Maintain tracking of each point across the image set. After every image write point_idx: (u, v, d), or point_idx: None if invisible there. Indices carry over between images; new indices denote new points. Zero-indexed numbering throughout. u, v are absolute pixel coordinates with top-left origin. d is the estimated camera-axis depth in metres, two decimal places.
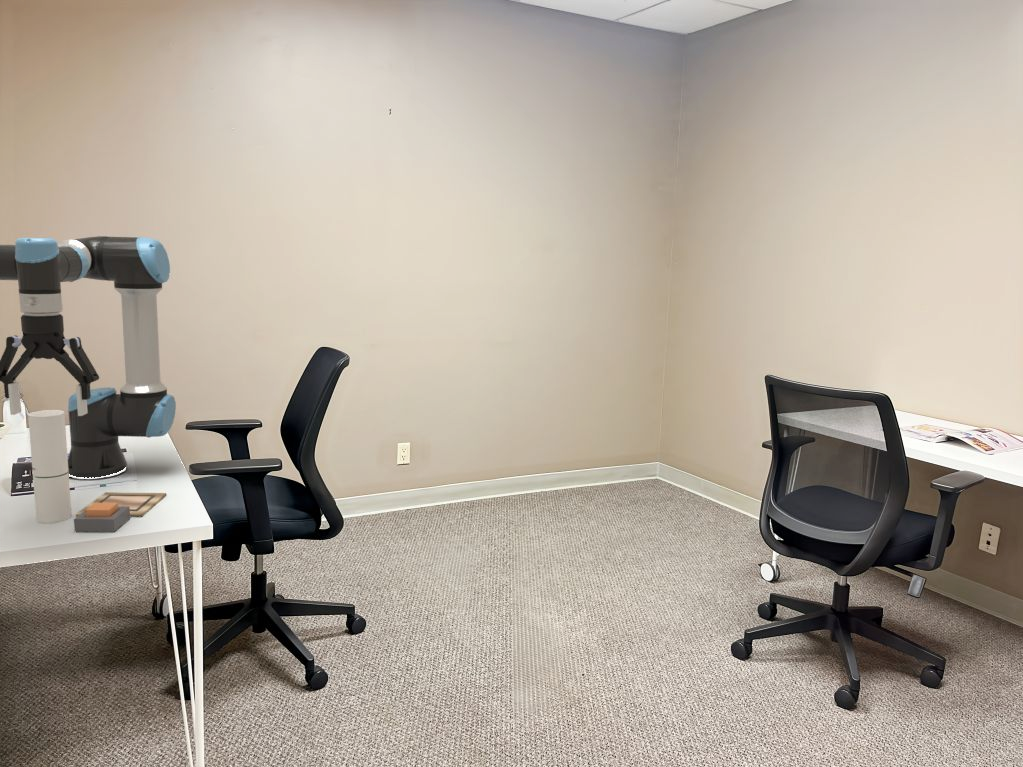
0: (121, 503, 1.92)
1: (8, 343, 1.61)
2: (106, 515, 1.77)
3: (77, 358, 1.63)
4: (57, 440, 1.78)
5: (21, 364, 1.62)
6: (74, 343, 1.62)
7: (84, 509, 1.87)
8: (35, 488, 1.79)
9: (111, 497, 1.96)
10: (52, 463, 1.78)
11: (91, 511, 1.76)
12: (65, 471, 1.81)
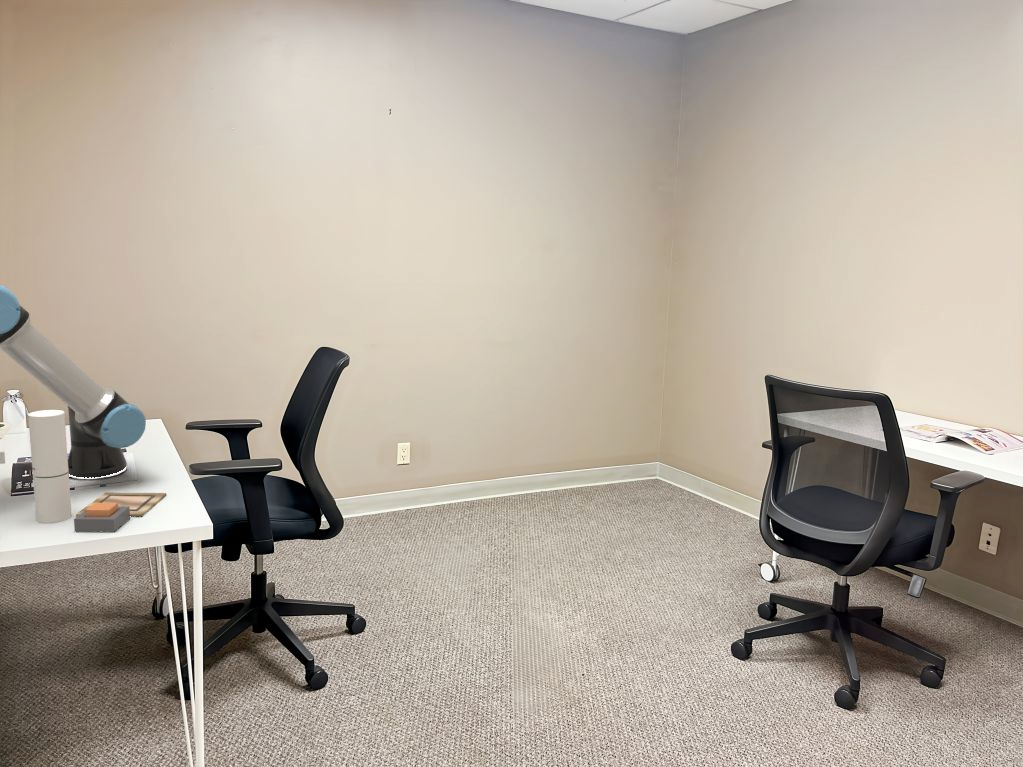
0: (121, 503, 1.92)
1: None
2: (106, 515, 1.77)
3: None
4: (57, 440, 1.78)
5: None
6: None
7: (84, 509, 1.87)
8: (35, 488, 1.79)
9: (111, 497, 1.96)
10: (52, 463, 1.78)
11: (91, 511, 1.76)
12: (65, 471, 1.81)
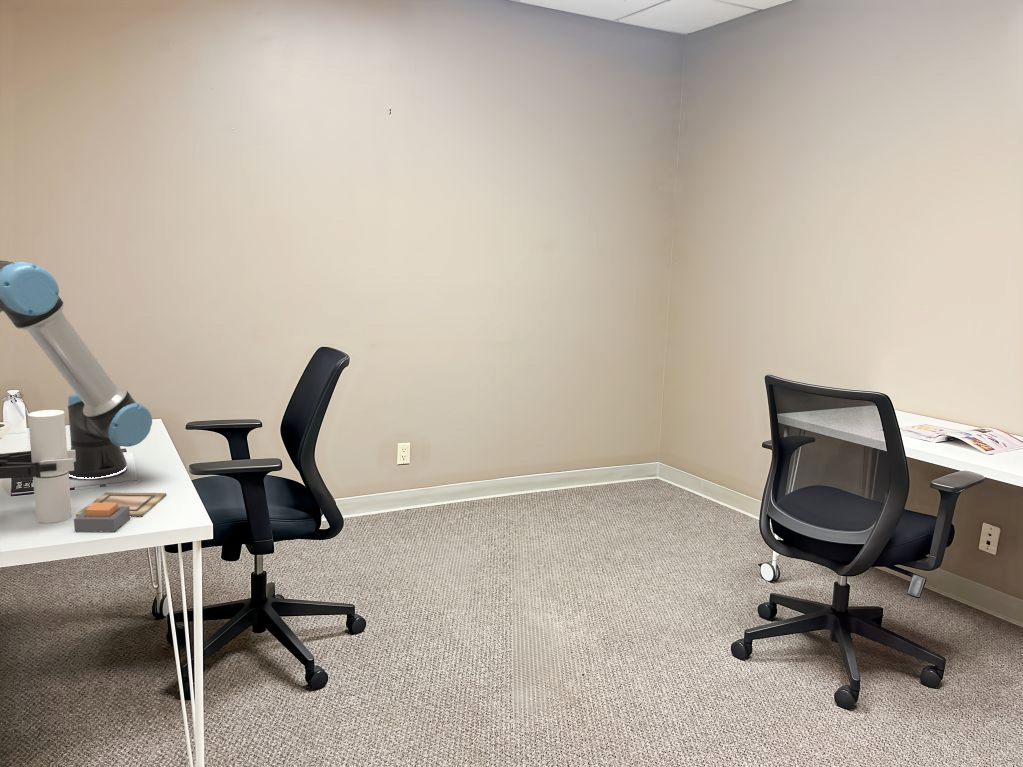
0: (121, 503, 1.92)
1: None
2: (106, 515, 1.77)
3: None
4: (57, 440, 1.78)
5: None
6: None
7: (84, 509, 1.87)
8: (35, 488, 1.79)
9: (111, 497, 1.96)
10: None
11: (91, 511, 1.76)
12: (65, 471, 1.81)
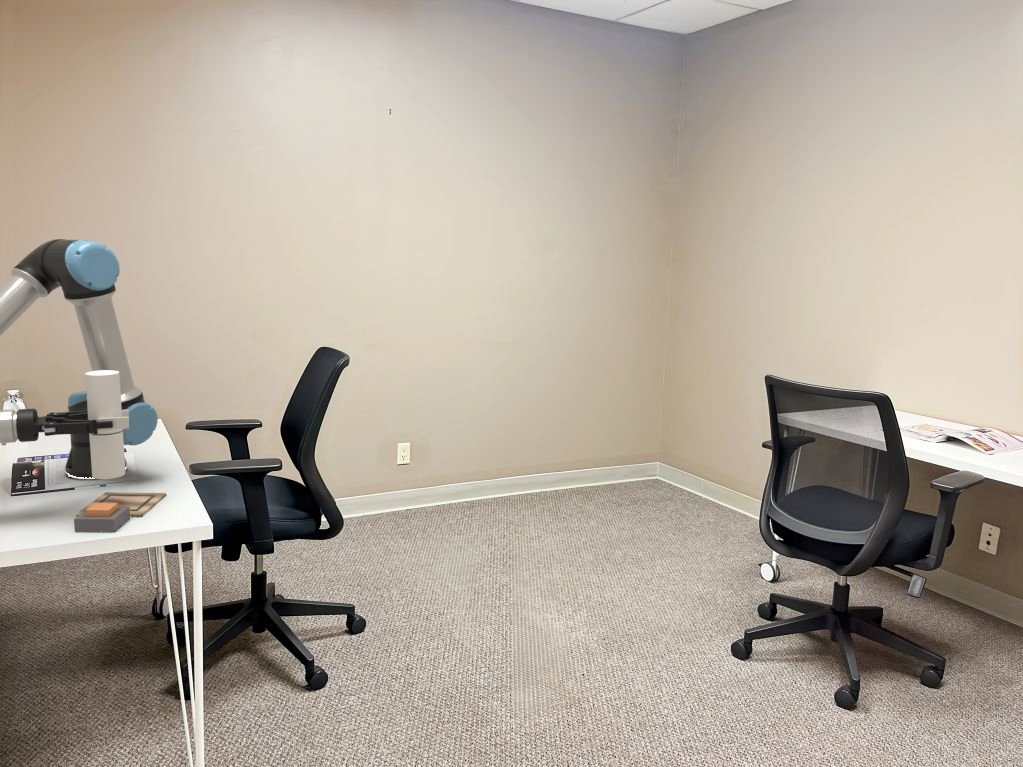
0: (121, 503, 1.92)
1: None
2: (106, 515, 1.77)
3: None
4: (113, 398, 1.84)
5: None
6: None
7: (84, 509, 1.87)
8: (92, 445, 1.85)
9: (111, 497, 1.96)
10: None
11: (91, 511, 1.76)
12: (120, 429, 1.87)
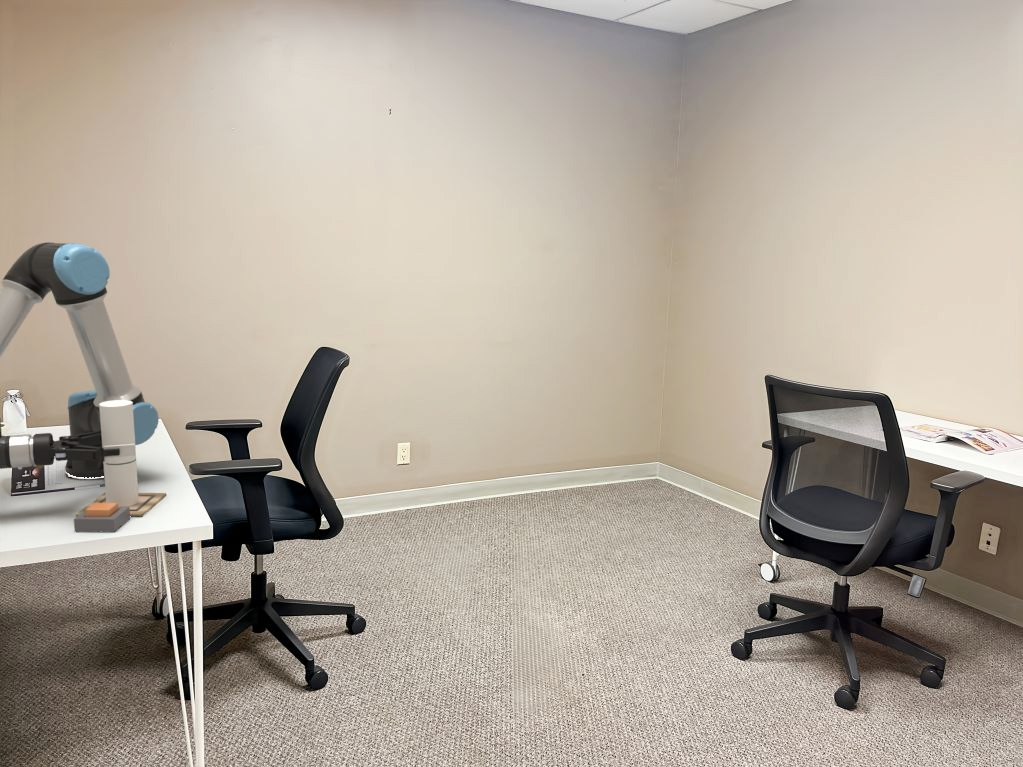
0: None
1: None
2: (106, 515, 1.77)
3: None
4: (127, 429, 1.87)
5: None
6: None
7: (84, 509, 1.87)
8: (106, 474, 1.88)
9: None
10: None
11: (91, 511, 1.76)
12: (133, 458, 1.90)
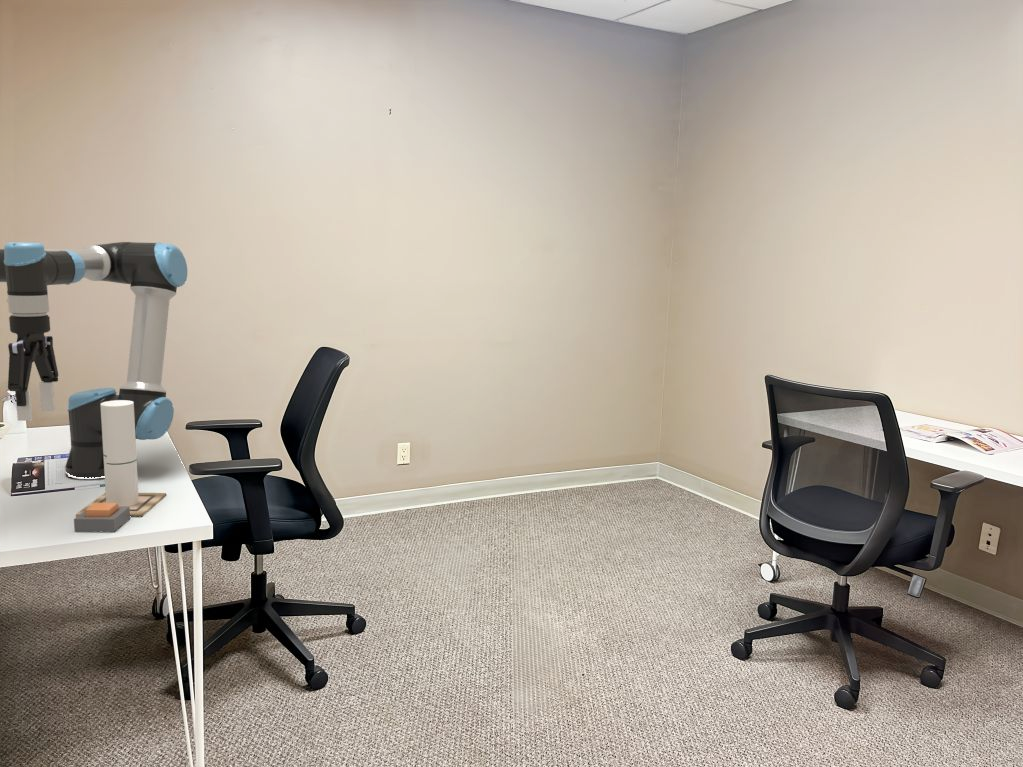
0: None
1: None
2: (106, 515, 1.77)
3: None
4: (128, 429, 1.88)
5: None
6: None
7: (84, 509, 1.87)
8: (106, 474, 1.88)
9: None
10: (123, 451, 1.87)
11: (91, 511, 1.76)
12: (134, 458, 1.90)
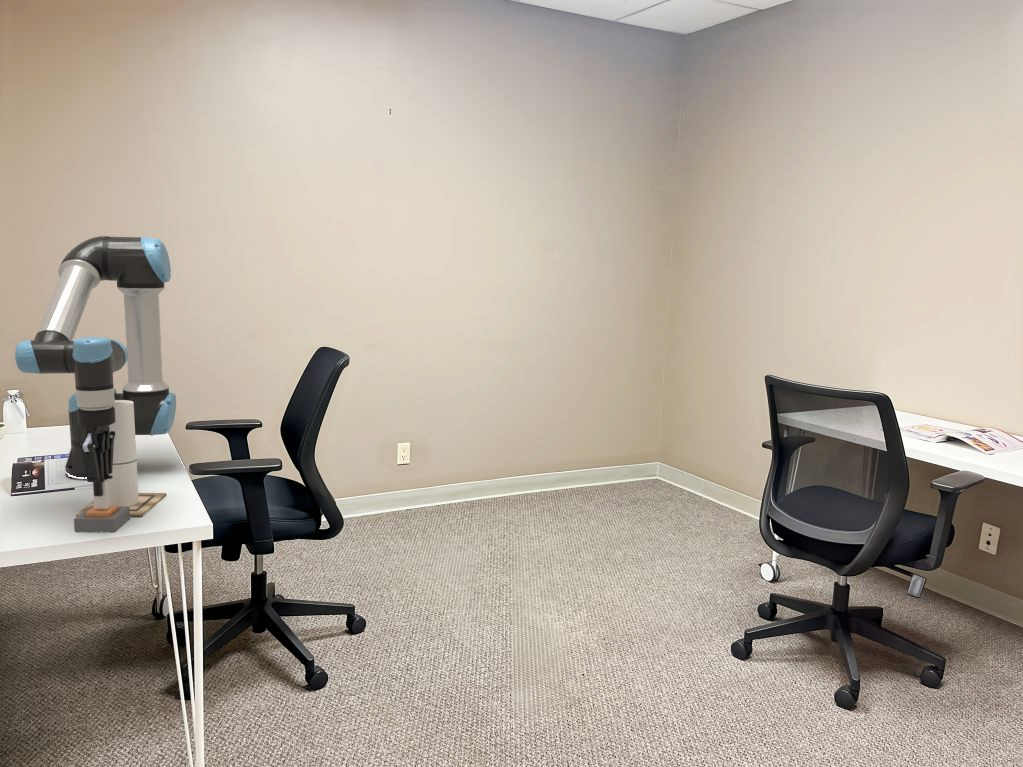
0: None
1: None
2: None
3: None
4: (128, 428, 1.88)
5: None
6: None
7: (84, 509, 1.87)
8: None
9: None
10: (123, 451, 1.87)
11: (91, 514, 1.76)
12: (134, 458, 1.90)
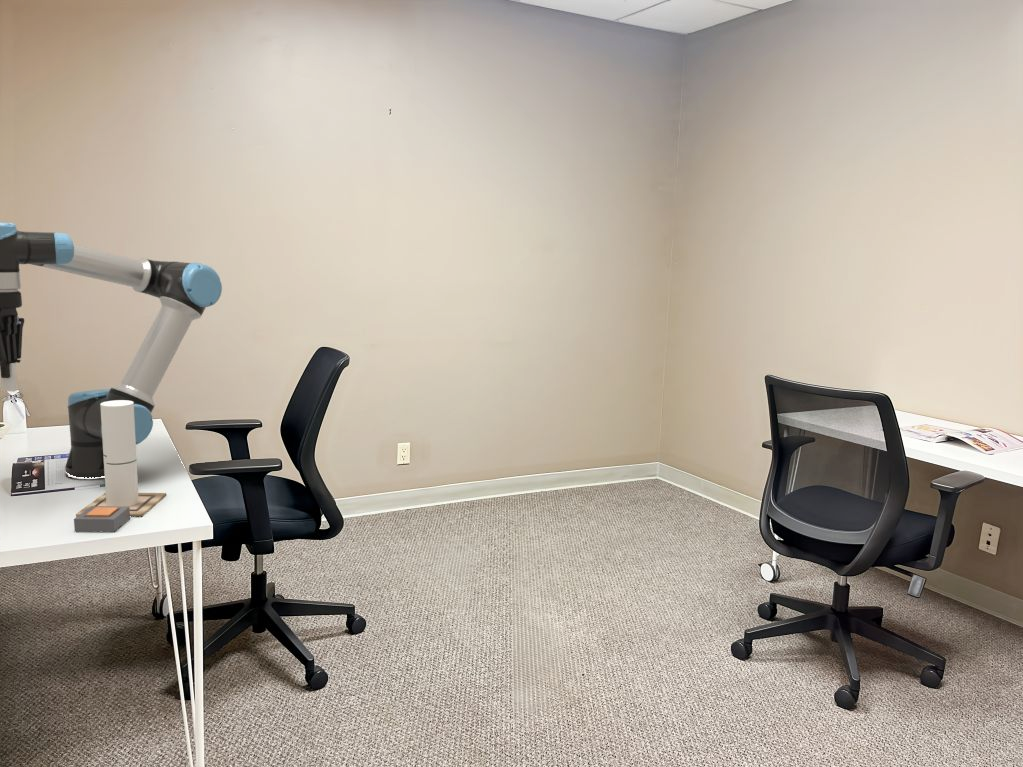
0: None
1: None
2: None
3: None
4: (128, 428, 1.88)
5: None
6: None
7: (84, 509, 1.87)
8: (106, 474, 1.88)
9: None
10: (123, 451, 1.87)
11: (91, 516, 1.77)
12: (134, 458, 1.90)
